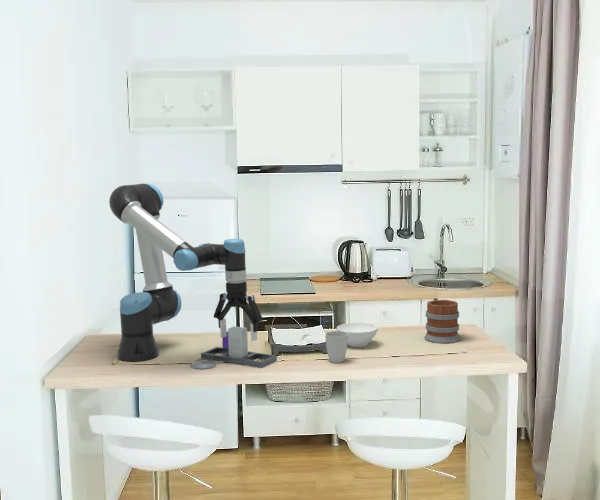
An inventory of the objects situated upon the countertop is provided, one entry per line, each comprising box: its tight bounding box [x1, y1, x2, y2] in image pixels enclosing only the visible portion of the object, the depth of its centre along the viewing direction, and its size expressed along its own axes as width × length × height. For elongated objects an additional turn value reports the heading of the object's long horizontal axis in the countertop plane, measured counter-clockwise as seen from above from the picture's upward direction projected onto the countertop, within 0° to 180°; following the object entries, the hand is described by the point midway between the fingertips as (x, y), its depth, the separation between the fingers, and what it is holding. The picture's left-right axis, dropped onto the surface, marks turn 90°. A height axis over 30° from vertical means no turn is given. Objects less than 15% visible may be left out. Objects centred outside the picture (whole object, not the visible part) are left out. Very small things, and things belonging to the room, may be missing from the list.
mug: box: [424, 297, 461, 344], centre depth 307 cm, size 14×19×15 cm
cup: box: [324, 330, 348, 364], centre depth 277 cm, size 8×8×10 cm
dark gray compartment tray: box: [200, 346, 278, 369], centre depth 281 cm, size 27×10×2 cm, turn 60°
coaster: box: [190, 360, 217, 370], centre depth 275 cm, size 9×9×1 cm
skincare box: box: [227, 326, 249, 358], centre depth 281 cm, size 6×4×12 cm
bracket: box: [221, 331, 229, 349], centre depth 302 cm, size 12×7×7 cm, turn 175°
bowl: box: [336, 322, 379, 348], centre depth 298 cm, size 16×16×7 cm
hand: (238, 338), depth 280 cm, fingers open, 13 cm apart
